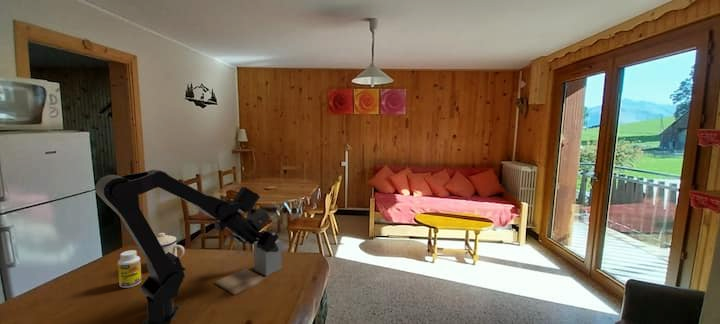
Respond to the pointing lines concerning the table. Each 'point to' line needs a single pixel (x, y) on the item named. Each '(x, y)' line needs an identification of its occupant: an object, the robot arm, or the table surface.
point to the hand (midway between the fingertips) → (269, 247)
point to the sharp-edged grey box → (267, 260)
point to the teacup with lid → (169, 244)
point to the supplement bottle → (129, 269)
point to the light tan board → (240, 281)
